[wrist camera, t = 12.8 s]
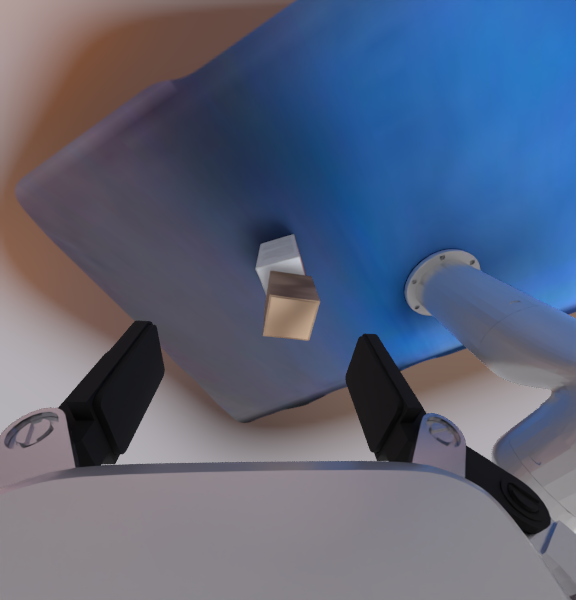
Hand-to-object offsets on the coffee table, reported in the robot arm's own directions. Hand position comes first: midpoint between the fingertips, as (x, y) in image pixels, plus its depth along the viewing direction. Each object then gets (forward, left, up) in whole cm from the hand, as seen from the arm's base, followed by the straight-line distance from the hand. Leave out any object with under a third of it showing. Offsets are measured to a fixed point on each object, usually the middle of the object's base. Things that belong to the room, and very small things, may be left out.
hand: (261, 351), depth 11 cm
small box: (-3, +5, -28) cm, 29 cm away
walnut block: (-3, +6, -17) cm, 18 cm away
